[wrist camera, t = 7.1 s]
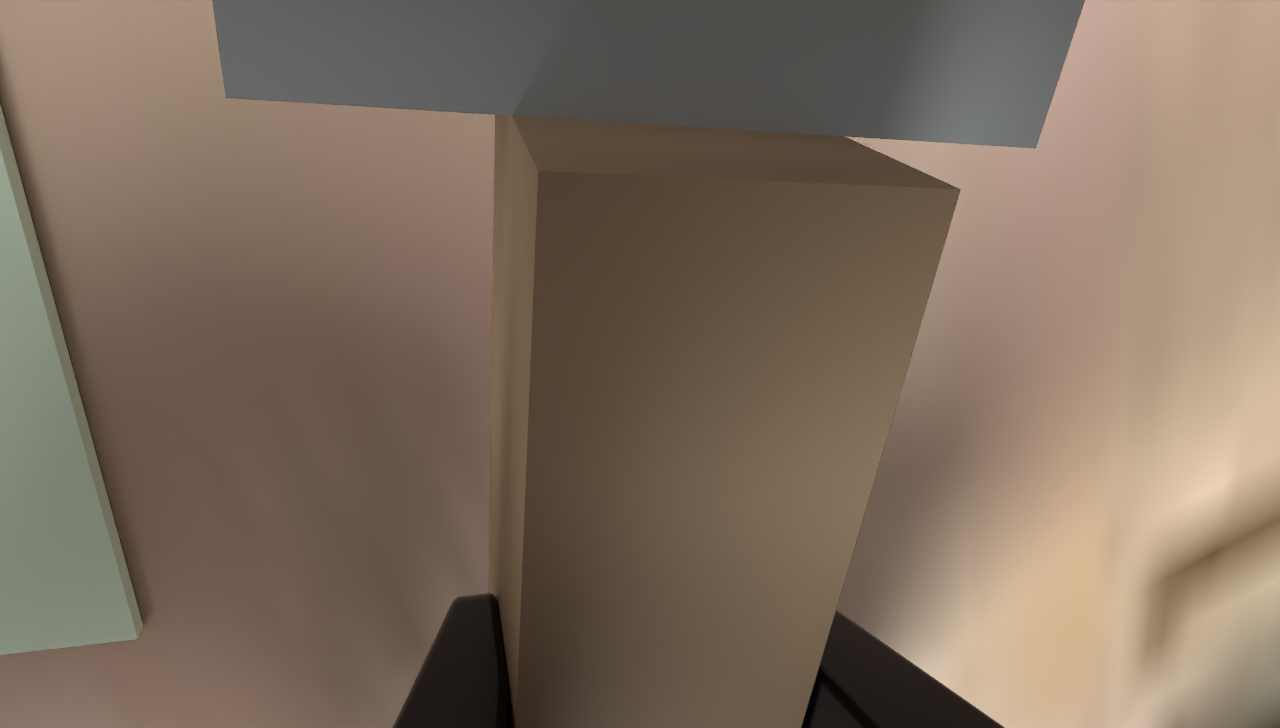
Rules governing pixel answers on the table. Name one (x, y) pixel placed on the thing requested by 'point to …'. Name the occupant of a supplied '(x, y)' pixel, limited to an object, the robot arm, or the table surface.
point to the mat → (48, 465)
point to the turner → (683, 301)
